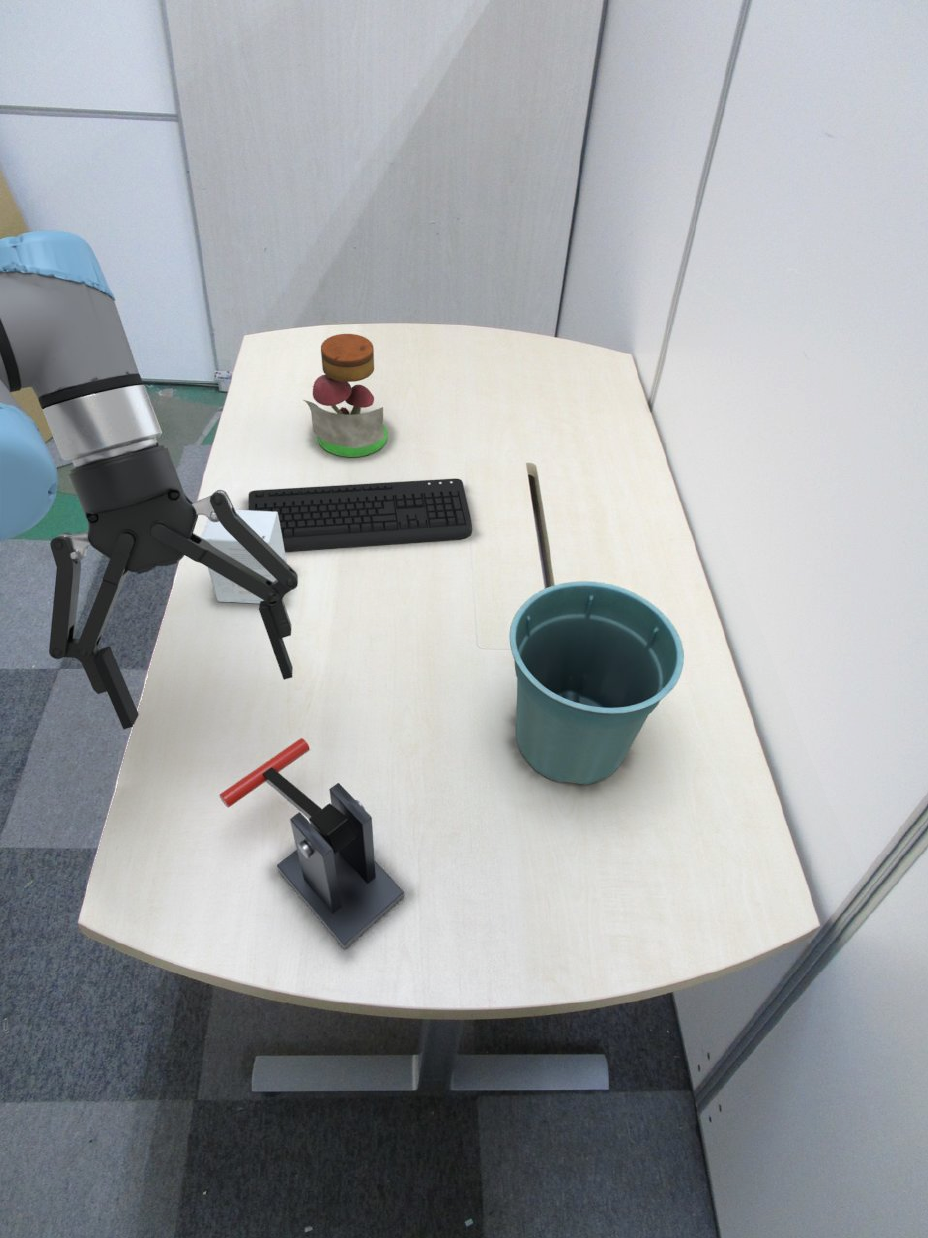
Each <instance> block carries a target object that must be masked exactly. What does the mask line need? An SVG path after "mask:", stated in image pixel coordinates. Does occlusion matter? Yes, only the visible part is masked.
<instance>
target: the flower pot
mask: <svg viewBox="0 0 928 1238" xmlns="http://www.w3.org/2000/svg"><path fill="white" fill-rule="evenodd" d="M509 627H510V628H509V635H508V636H509V647H510V651H511V654H512V658H513V660H514V661H513V662H514V671H515V676H516V684H517V685H516V709H515V711H516V712H515V713H516V714H515V739H516V743H517V746H518V749H519V751H520V753H521V755H522V757H523V758H524V759H525V760H526V762H527V763H528V764H529V765H530V766H531V767H532V768H533V769H534V770H535V771H536V772H538V773H539V774H541V775H543V776H544V777H546V778H547V779H550V780H552V781H555V782H558V783H560V784H564V783H572V784H579V785H581V786H584V785H591V784H594V783H595V784H596V783H598V782H600V781H603V780H604V779H607V778H609V776H611V775H612V774H613V773H616V771H617V770H618V769H619V768H620V766H621V765H622V763H623V762H624V760H625V758H626V756H627V754H628V752H630V749H631V747H632V745H633V744H634V742H635V740H636V739H637V736H638V735H639V733H640V731H641V729H642V728H643V726H644V725H645V722H646V721H647V719H648V717H649V715H650V714H651V713H652V712H654V710H655V709H656V708H657V707H658V706H659V704H660V702H661V701H662V700H663V699H664V698H665V697H666V696H667V695H668V694H670V692H671V691H672V690H673V689H674V688H675V686H676V685H677V684H678V682H679V679H680V678H681V675H682V672H683V668H684V663H685V662H684V661H685V652H684V647H683V642H682V638H681V637H680V634H679V632H678V630H677V629H676V627H675V626H674V625H673V623H672V622H671V620H670V618H668V617H667V615H666V614H665V613H664V612H663V611H661V609H659V608H658V607H657V606H656V605H655V604H653V603H652V602H651V601H649V600H648V599H646V598H644V597H643V596H641V595H639V594H638V593H636V592H634V591H632V590H629V589H627V588H625V587H621V586H618V585H613V584H611V583H605V582H600V581H590V580H589V581H588V580H578V581H569V582H563V583H559V584H555V585H551V586H548V587H545V588H544V589H541V590H539V591H538V592H536V593H534V594H533V595H531V596H530V597H529V598H527V599H526V601H524V603H523V604H521V605H520V607H518V609H517V611H516V612H515V614H514V617H513V618H512V621H511V624H510V626H509Z"/></svg>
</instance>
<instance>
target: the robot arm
mask: <svg viewBox="0 0 928 1238" xmlns="http://www.w3.org/2000/svg"><path fill="white" fill-rule="evenodd" d="M115 301H116V298H115V295H114V293H113V292H112V290H111V288H110V285H109V284H108V282H107V279H106V277H105V274H104V271H103V270H102V268H101V265H100V263H99V261H98V258H97V257H96V254H95V252H94V250H93V248H92V246H91V245H90V244H89V243H88V241H87V240H86V239H84V238H83V237H81V236H80V235H78V234H76V233H74V232H70V231H65V230H55V229H54V230H50V229H49V230H37V231H29V232H23V233H22V234H19V235H16V236H15V235H14V236H7V237H3V238H1V239H0V542H3V541H7V540H10V539H13V538H15V537H18V536H21V535H22V534H24V533H26V532H28V531H30V530H31V529H33V528H34V527H35V526H36V525H37V524H39V523H40V522H41V521H42V520H43V519H44V518H45V517H46V515H47V514H48V512H49V511H50V510H51V508H52V506H53V505H54V503H55V500H56V497H57V492H58V489H59V487H60V485H59V475H58V469H57V465H56V462H55V461H54V458H53V457H52V454H51V452H50V451H49V448H48V446H47V444H46V442H45V440H44V438H43V434H42V432H41V431H40V429H39V426H38V424H37V423H36V421H34V420H33V419H32V418H31V417H30V416H29V414H27V413H26V412H25V411H24V409H23V408H22V406H21V405H20V403H19V402H18V401H17V399H16V398H15V397H14V396H13V394H12V393H15V392H19V391H21V390H22V389H28V388H31V389H32V391H33V392H34V394H35V396H36V398H37V399H38V400H37V401H38V403H39V405H40V408H41V410H42V413H43V415H44V418H45V420H46V423H47V425H48V428H49V430H50V433H51V435H52V438H53V440H54V442H55V446H56V448H57V450H58V453H59V455H60V458H61V460H63V461H65V462H70V461H71V462H72V465H73V467H74V468H71V469H70V470H69V472H70V473H68V477H69V479H70V482H71V484H72V487H73V489H74V491H75V494H76V496H77V499H78V501H79V504H80V506H81V509H82V511H83V514H84V516H85V518H86V520H87V526H88V529H87V531H85V532H78V533H71V532H63V533H61V534H59V535H57V536H55V537H54V538H52V540H50V543H49V545H50V549H51V552H52V556H53V559H54V563H55V566H56V571H55V583H54V591H53V592H54V593H53V602H52V603H53V606H52V615H51V627H50V635H49V636H50V638H49V649H48V652H49V655H50V657H51V658H52V659H55V660H60V659H63V658H71V659H76V660H78V661H79V662H80V663H81V665H82V667H83V669H84V672H85V674H86V677H87V679H88V681H89V683H90V685H91V688H92V690H93V691H94V692H95V693H96V694H97V695H100V694H104V693H107V695H108V697H109V699H110V701H111V704H112V706H113V708H114V711H115V713H116V715H117V718H118V720H119V723H120V726H121V727H122V729H123V730H127V729H130V728H133V727H134V725H135V723H136V722H137V719H138V717H139V715H140V714H139V712H138V710H137V707H136V704H135V701H134V700H133V697H132V694H131V692H130V690H129V687H128V685H127V683H126V681H125V679H124V676H123V673H122V672H121V669H120V666H119V664H118V662H117V659H116V656H115V655H114V651H113V650H112V647H111V646H110V645H109V646H106V647H102V648H99V647H100V645H101V640H102V638H103V636H104V633H105V630H106V628H107V626H108V623H109V620H110V618H111V615H112V613H113V610H114V608H115V605H116V602H117V600H118V597H119V595H120V592H121V590H122V587H123V585H124V582H125V580H126V578H127V577H128V574H129V572H131V573H135V574H138V575H141V574H143V573H147V572H150V571H151V570H153V569H155V568H156V567H169V566H173V565H175V564H178V562H179V561H181V560H182V559H183V558H184V557H187V558H188V559H190V560H192V561H194V562H196V563H199V564H202V565H203V566H204V567H206V568H207V569H208V568H210V569H212V570H213V571H215V572H217V573H218V574H220V575H222V576H224V577H225V578H227V579H229V580H230V581H232V582H234V583H235V584H237V585H239V586H240V587H242V588H244V589H246V590H247V591H249V592H251V593H252V594H254V595H256V596H257V597H259V598H261V599H263V600H264V601H260V604H259V606H258V611H259V614H260V617H261V620H262V623H263V625H264V628H265V631H266V634H267V637H268V640H269V643H270V645H271V649H272V651H273V654H274V656H275V659H276V662H277V665H278V668H279V670H280V674H281V676H282V679H283V680H284V681H285V680H288V679H291V678H293V671H294V670H293V664H292V661H291V659H290V655H289V653H288V650H287V647H286V645H285V641H284V638H287V637H291V636H292V627H293V626H292V623H291V619H290V616H289V614H288V611H287V608H286V605H285V602H284V597H285V596H286V595H287V594H288V593H290V592H291V591H293V590H295V589H296V588H297V587H298V584H299V577H298V573H297V572H296V571H295V569H294V568H293V567H291V566H290V565H289V564H288V562H287V563H286V562H285V561H284V560H283V559H282V558H281V557H280V556H279V555H278V554H277V553H276V552H275V551H274V550H273V549H272V548H271V547H270V546H269V545H268V544H267V543H266V542H265V541H264V540H263V539H262V538H261V537H260V536H259V535H258V534H257V533H256V532H255V531H254V530H253V529H252V528H251V527H250V526H249V525H248V524H247V523H246V522H245V521H244V520H243V519H242V518H241V517H240V516H239V515H238V514H237V513H236V511H235V510H236V509H235V507H234V505H233V503H232V501H231V499H230V496H229V494H228V493H227V492H226V491H225V490H223V489H218V490H215V491H214V492H213V493H212V494H211V495H209V496H207V497H204V498H202V499H199V500H197V501H194V502H192V501H191V499H189V497H188V496H187V494H186V493H185V491H184V489H183V486H182V483H181V480H180V477H179V475H178V472H177V469H176V467H175V464H174V460H173V459H172V455H171V453H170V450H169V447H166V446H165V445H164V444H159V442H158V441H157V438H160V437H161V436H162V434H163V431H162V428H161V426H160V423H159V419H158V418H157V415H156V412H155V409H154V407H153V403H152V402H151V399H150V396H149V393H148V390H147V388H146V386H145V384H144V382H143V379H142V377H141V374H140V372H139V369H138V365H137V363H136V360H135V357H134V353H133V352H132V349H131V346H130V343H129V340H128V337H127V334H126V331H125V328H124V325H123V322H122V320H121V316H120V314H119V311H118V308H117V305H116V302H115ZM199 516H204V517H206V518H207V520H208V519H209V520H210V521H212V522H219V521H220V523H221V524H222V526H223V527H224V528H225V529H226V530H227V531H228V532H229V533H230V534H231V535H232V536H233V537H234V538H235V539H236V540H237V541H238V542H239V543H240V544H241V545H242V546H243V547H244V548H245V549H246V550H247V551H248V552H249V553H250V554H251V555H252V556H253V557H254V558H255V559H256V560H257V561H258V562H259V563H260V564H261V565H262V566H263V567H264V568H265V569H266V570H267V571H268V572H269V573H270V574H271V575H272V576H273V577H274V578H275V579H276V580H275V581H274V582H272V581H270V580H268V579H267V578H265V577H263V576H262V575H260V574H258V573H257V572H255V571H253V570H252V569H250V568H248V567H247V566H245V565H243V564H242V563H240V562H238V561H237V560H235V559H233V558H232V557H230V556H228V555H227V554H225V553H223V552H222V551H220V550H218V549H217V548H215V547H213V546H212V545H211V544H210V543H209V542H207V541H206V540H204V539H202V538H201V536H200V535H198V534H196V533H194V532H195V528H196V524H197V522H198V519H199ZM89 547H92V548H93V549H94V550H96V551H97V552H99V553H100V554H102V555H104V556H105V557H106V558H108V559H109V561H108V562H107V566H106V568H105V571H104V573H103V577H102V581H101V583H100V586H99V588H98V592H97V594H96V596H95V600H94V602H93V604H92V607H91V609H90V613H89V614H88V617H87V620H86V622H85V625H84V628H83V630H82V632H81V635H80V637H79V638H76V637H75V634H76V624H77V616H78V615H77V613H78V605H79V593H80V583H81V575H82V574H81V573H82V560H84V559H85V558H86V557H87V556H88V548H89Z"/></svg>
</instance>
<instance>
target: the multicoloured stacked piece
mask: <svg viewBox="0 0 928 1238" xmlns="http://www.w3.org/2000/svg"><path fill="white" fill-rule="evenodd" d="M320 356H321V357H320V358H321V367H322V372H323V374H322V375H320V376H318V377H317V378H316V379H315V381H314V383H313V385H312V397H313V400H314V401H315V402H316V403H317V404H319V405H322V406H326V407H330V408H332V410H333V411H334V412H332V411H328V410H326V409H323V408H321V407H319V405H317V404H316V403H314V402H312V401H309V400H306V399H302V402H303V401H304V402H305V403H306V404H307V405H308V407H309V411H310V413H311V422H312V432H313V433H314V435H316V437H317V441H318V444H319V445H320V446H321V447H322V448H323V449H324V450H325V451H326V452H328V453H330V454H333V455H336V456H339V457H346V458H359V457H366V456H368V455H372V454H374V453H376V452H377V451H379V450H381V449H382V448H383V447H384V446H385V445H386V443H387V441H388V430H387V427H386V426H385V424H384V406H381V407H379V408H377V409H375V410H371V411H368V412H363V413H361V409H366V408H369V407H372V405H374V403H375V396H374V395H373V393H372V391H370V389H369V388H368V387H366V386H365V385H363V384H355V385H353V386H352V385H351V384H350V383H355V382H360V381H363V380H365V379H368V378H369V377H370V376H372V375H373V374H374V371H375V350H374V345H373V342H372V341H371V340H370V339H368V338H367V337H365V336H363V335H359V334H356V333H340V334H334V335H332V336H330V337H327V338H326V339H325V340H323V342H321V345H320ZM344 402H345V403H346V404H347V405H349V406H352V409H351V411H349V409H348V408H347V407H344V406H342V407H340V409H339V407H338V406H337V405H339V404H342V403H344Z"/></svg>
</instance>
